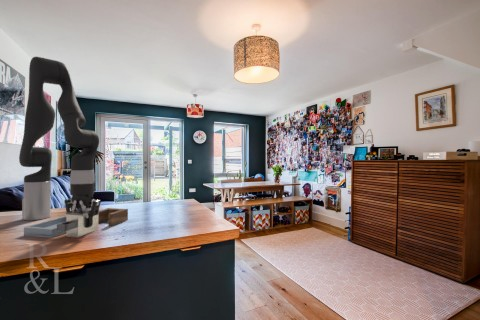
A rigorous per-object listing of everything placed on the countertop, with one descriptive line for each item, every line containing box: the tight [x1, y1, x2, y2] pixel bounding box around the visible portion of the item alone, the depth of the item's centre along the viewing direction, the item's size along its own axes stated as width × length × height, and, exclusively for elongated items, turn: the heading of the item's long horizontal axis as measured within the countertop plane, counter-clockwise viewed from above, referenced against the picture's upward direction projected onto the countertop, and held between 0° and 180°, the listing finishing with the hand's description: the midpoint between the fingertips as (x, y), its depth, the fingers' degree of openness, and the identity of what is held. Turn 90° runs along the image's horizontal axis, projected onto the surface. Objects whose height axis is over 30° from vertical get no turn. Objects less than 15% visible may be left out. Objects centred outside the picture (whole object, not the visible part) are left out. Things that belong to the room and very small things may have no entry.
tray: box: [23, 215, 66, 239], centre depth 86 cm, size 12×16×3 cm
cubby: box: [98, 207, 129, 227], centre depth 97 cm, size 10×10×5 cm
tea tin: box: [57, 208, 99, 238], centre depth 81 cm, size 5×13×9 cm, turn 170°
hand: (82, 226), depth 83 cm, fingers closed on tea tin, 5 cm apart
